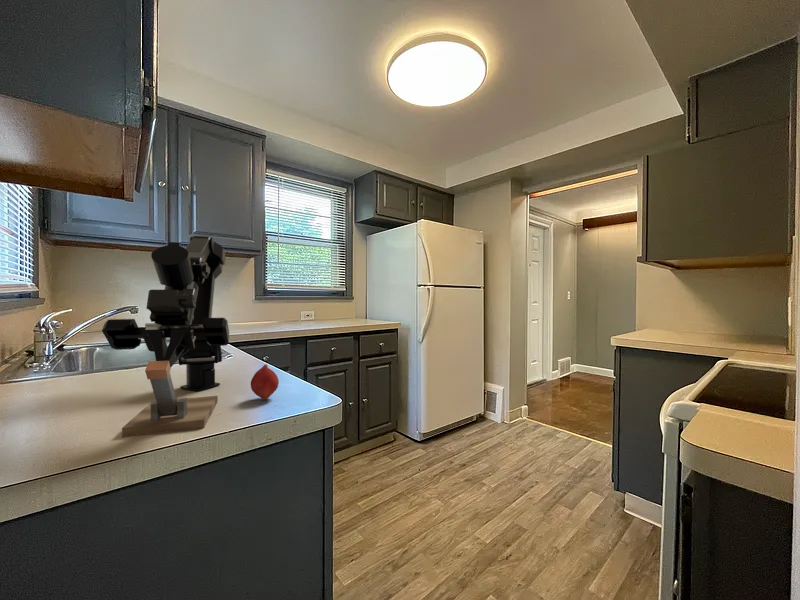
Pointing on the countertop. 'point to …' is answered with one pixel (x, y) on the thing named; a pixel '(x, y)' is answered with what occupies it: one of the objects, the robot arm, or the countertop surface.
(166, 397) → the lever
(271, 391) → the onion
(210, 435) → the countertop surface
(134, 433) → the lever base
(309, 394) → the countertop surface
